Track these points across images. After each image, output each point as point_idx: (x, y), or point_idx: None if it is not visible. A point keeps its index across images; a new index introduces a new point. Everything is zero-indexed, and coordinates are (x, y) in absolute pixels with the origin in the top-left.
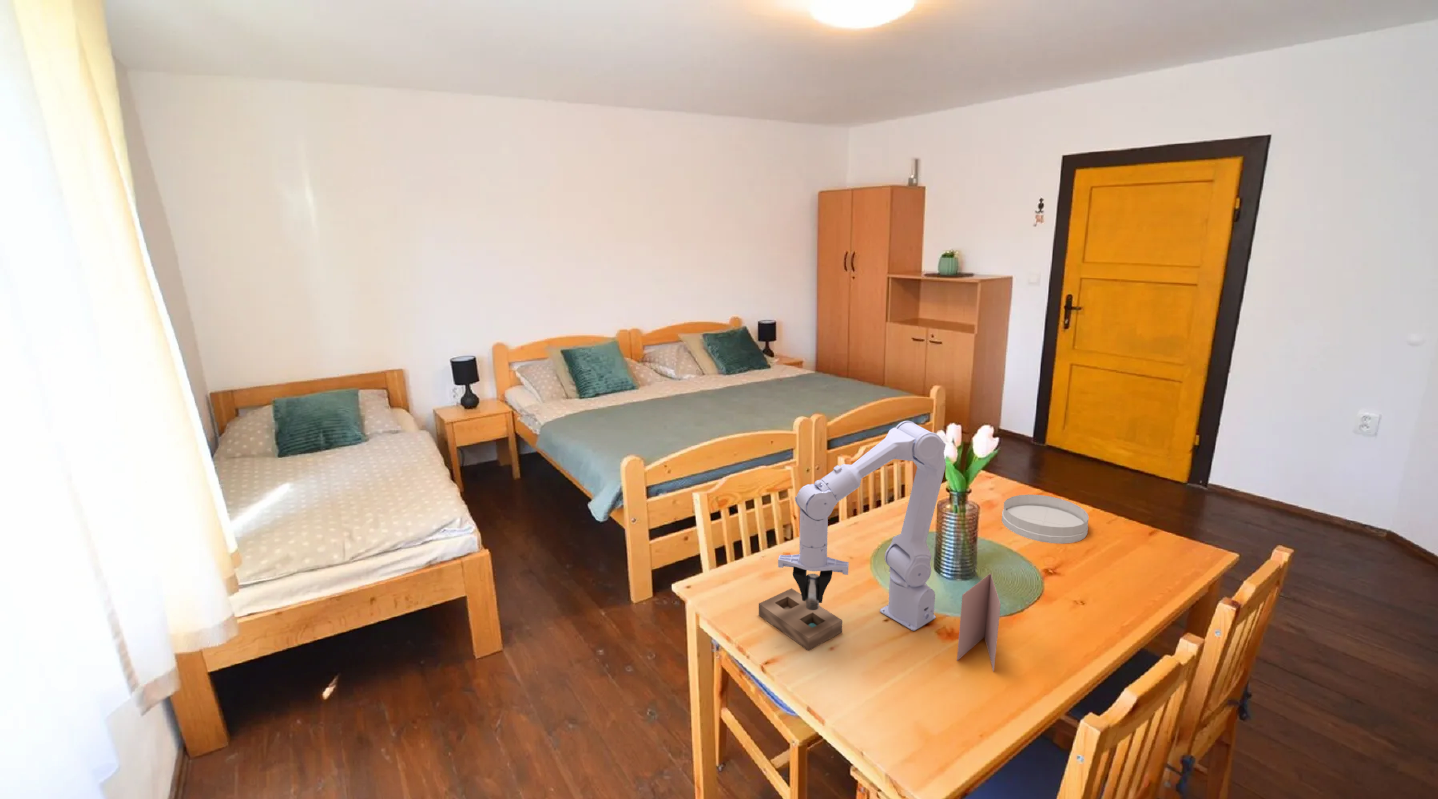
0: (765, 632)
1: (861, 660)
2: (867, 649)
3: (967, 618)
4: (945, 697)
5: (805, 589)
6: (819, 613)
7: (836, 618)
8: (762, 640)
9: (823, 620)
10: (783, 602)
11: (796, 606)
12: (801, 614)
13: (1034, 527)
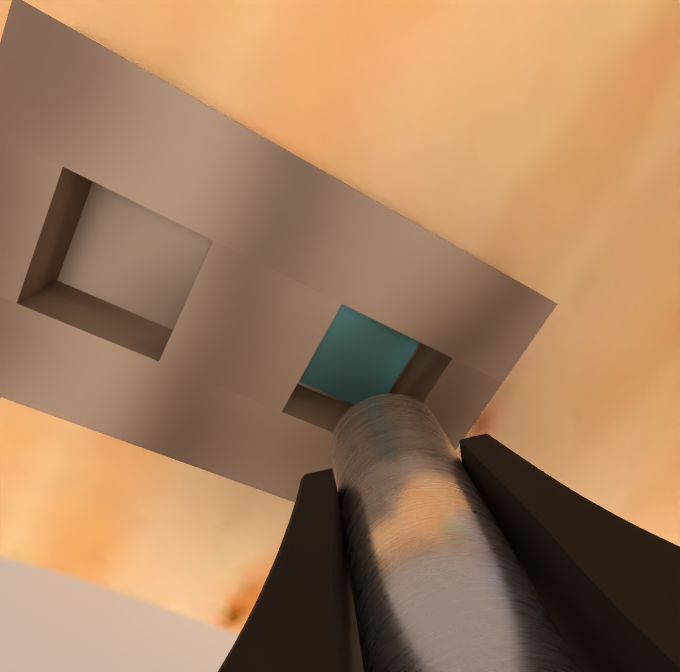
0: (115, 452)
1: (621, 442)
2: (650, 360)
3: None
4: None
5: (350, 607)
6: (393, 295)
7: (517, 302)
8: (137, 510)
9: (433, 346)
10: (64, 210)
11: (201, 280)
12: (277, 359)
13: None
